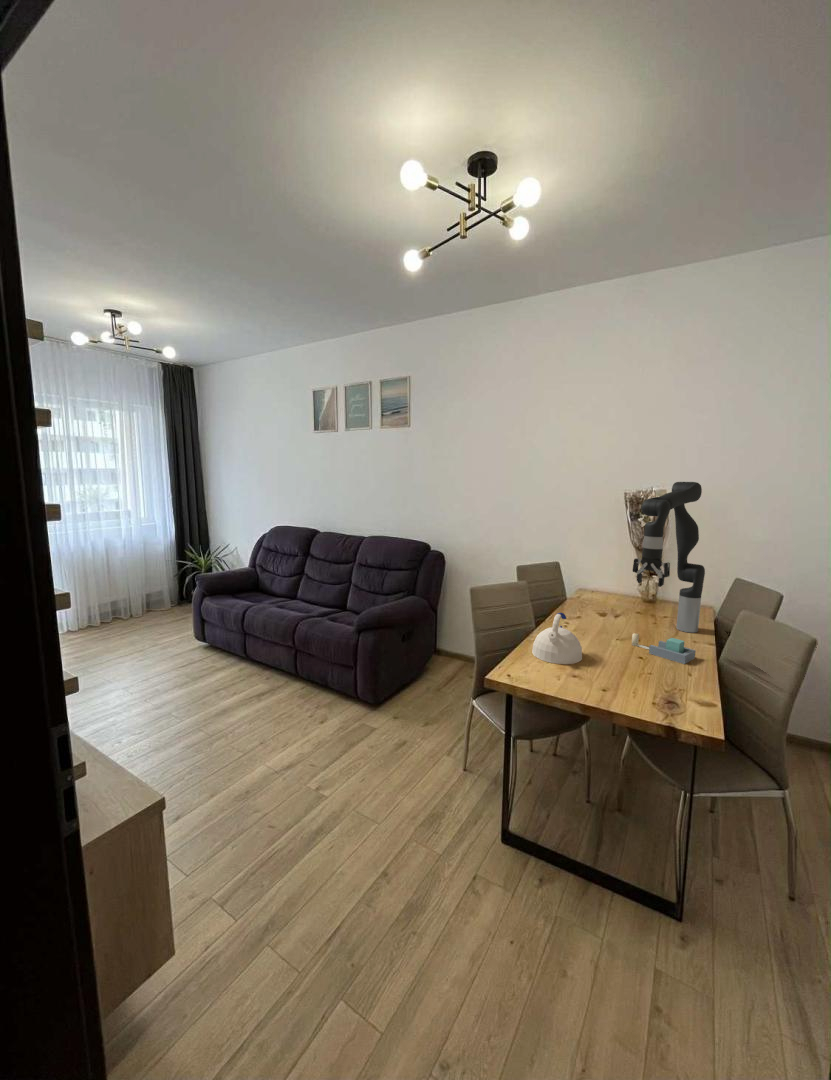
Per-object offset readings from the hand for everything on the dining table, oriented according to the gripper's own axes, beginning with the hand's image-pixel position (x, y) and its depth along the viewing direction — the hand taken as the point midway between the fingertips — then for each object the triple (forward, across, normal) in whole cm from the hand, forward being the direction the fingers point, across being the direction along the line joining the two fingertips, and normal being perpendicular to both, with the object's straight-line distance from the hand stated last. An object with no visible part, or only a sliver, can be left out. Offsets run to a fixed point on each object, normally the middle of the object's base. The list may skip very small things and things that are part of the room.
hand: (649, 584), depth 190 cm
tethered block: (+29, -3, -3) cm, 30 cm away
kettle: (+30, +20, +35) cm, 50 cm away
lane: (+29, -10, -3) cm, 31 cm away
